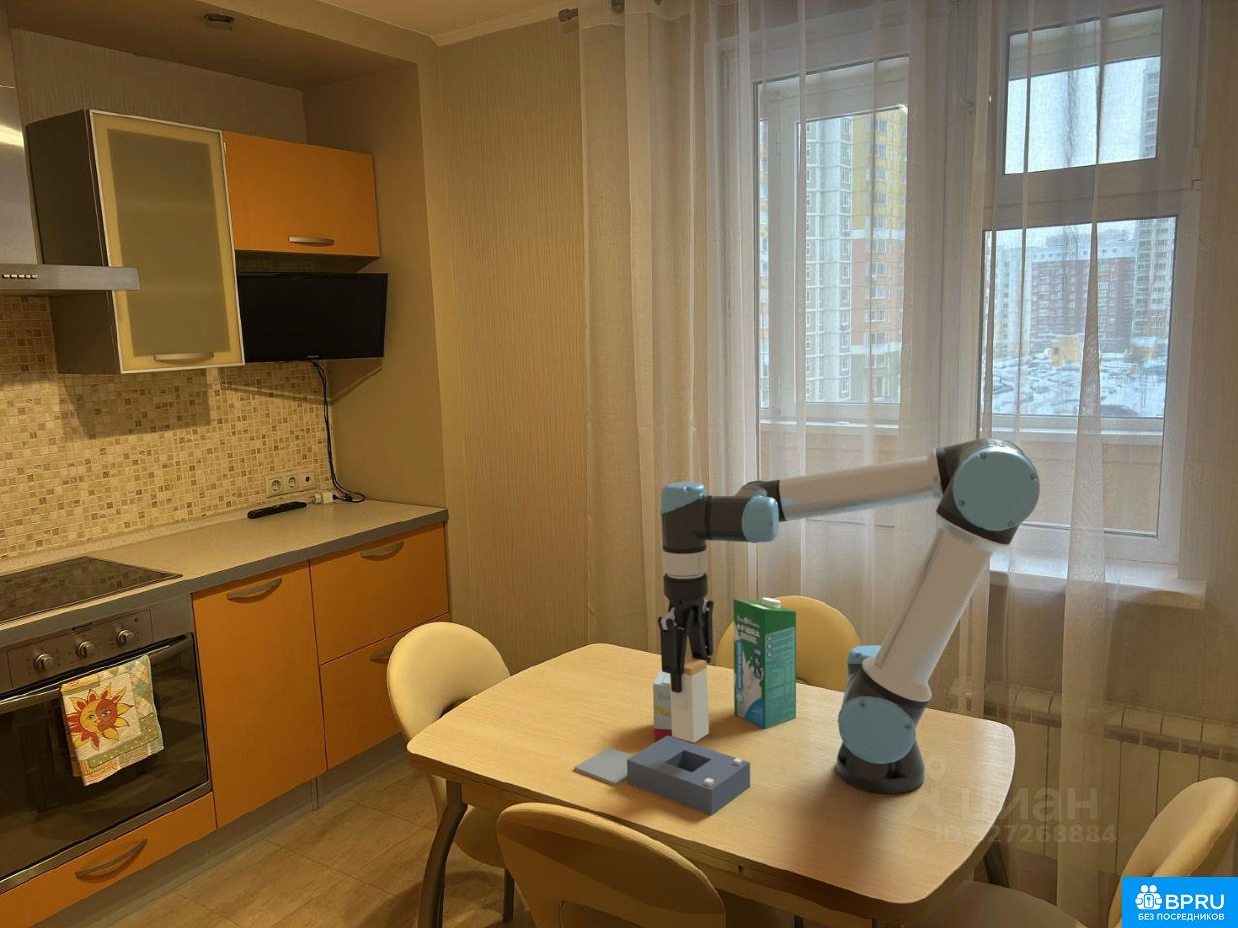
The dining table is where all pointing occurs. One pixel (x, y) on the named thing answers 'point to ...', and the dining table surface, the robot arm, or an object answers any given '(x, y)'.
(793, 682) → the milk carton
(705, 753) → the grey square-hole block
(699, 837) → the dining table surface
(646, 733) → the dining table surface
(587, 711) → the dining table surface
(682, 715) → the plug
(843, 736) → the robot arm
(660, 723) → the ink box
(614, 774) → the mat
